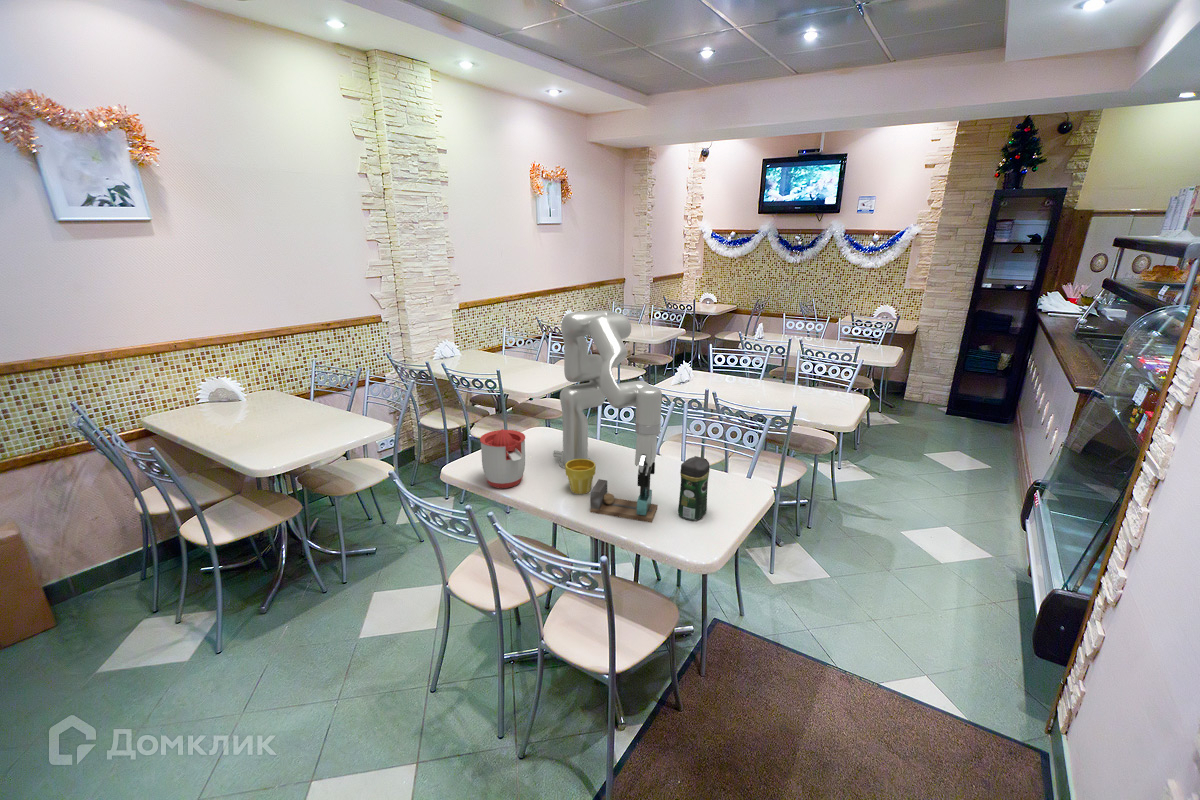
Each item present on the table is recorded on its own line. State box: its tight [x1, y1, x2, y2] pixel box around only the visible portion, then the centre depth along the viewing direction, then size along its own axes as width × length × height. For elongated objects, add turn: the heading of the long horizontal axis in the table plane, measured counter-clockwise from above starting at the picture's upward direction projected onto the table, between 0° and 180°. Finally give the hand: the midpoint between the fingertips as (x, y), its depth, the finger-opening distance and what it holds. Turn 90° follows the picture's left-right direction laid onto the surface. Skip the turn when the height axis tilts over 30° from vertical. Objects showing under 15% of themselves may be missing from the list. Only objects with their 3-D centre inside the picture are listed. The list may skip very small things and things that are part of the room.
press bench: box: [589, 478, 659, 523], centre depth 164 cm, size 20×9×8 cm, turn 73°
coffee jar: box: [677, 455, 711, 521], centre depth 161 cm, size 10×8×19 cm
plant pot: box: [564, 459, 596, 495], centre depth 177 cm, size 10×10×10 cm
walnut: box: [603, 492, 615, 504], centre depth 166 cm, size 4×4×4 cm
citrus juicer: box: [479, 428, 526, 490], centre depth 180 cm, size 16×17×20 cm
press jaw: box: [636, 463, 653, 516], centre depth 160 cm, size 4×8×16 cm, turn 163°
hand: (646, 479), depth 160 cm, fingers open, 9 cm apart
